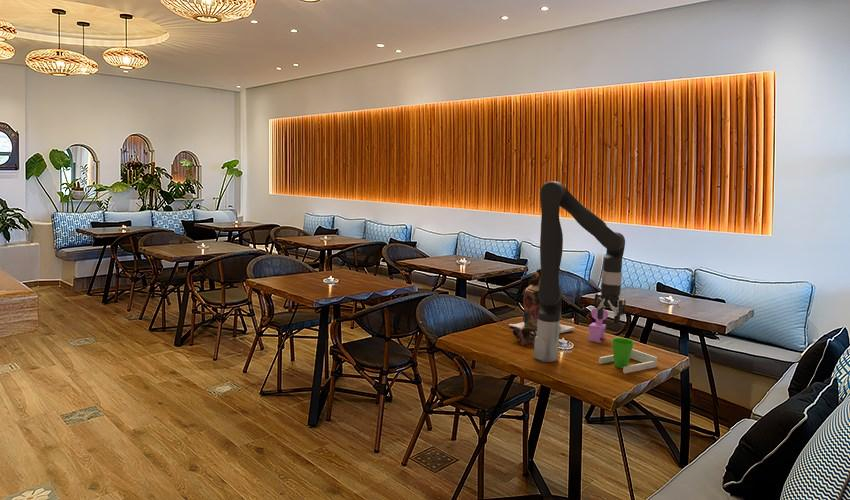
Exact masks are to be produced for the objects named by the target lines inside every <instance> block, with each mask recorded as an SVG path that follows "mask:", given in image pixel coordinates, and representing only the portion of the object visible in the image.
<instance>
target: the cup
mask: <svg viewBox="0 0 850 500" xmlns="http://www.w3.org/2000/svg"><path fill="white" fill-rule="evenodd" d="M611 342H612V351H613V353H612V355H614V361H613V362H614V366H615V368H619V369H623V367H625V366H629V364H630V363H629V362H630V359H631V358H630V355H631V351H632V349H633V347H634V344H635V341H634V340H633V339H630V338H626V337H614V338H612V339H611Z"/></svg>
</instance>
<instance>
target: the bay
mask: <svg viewBox="0 0 850 500" xmlns="http://www.w3.org/2000/svg"><path fill="white" fill-rule="evenodd" d="M630 359H632V360H635V361H638V362H640V363H635V364H630V365H628V366H625V367H623V368H622V369H623V370H622V373H623V374H628V373H635V372H638V371H643V370H648V369H653V368H657V367H658V360H659V359H658V357H657V356H655V355H652V354H649V353H645V352H642V351H640V350H637V349H634V348H632V351H631V355H630ZM612 362H614V354H611V355H610V354H609V355H605V356H599V357H598V364H600V365H601V364H607V363H612Z"/></svg>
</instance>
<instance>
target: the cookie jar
mask: <svg viewBox="0 0 850 500" xmlns="http://www.w3.org/2000/svg"><path fill="white" fill-rule="evenodd" d="M530 278H531V280H532V281H533V283H532V284H530V285H528V287H526V288H525V290H524V295H523V303H522V305H523V311H522V312H523V315H522V322H517V323H509V324H508V326H509V327H513V328H517V329H519V330H521V329H522V328H525V327H529V328H532V329H534V330H535V332H536V336H537V324H538V311H539V305H540V299H539V295H538V293H539V286H540V278H541V268H538V269H537V270H536V271H535V272H532V273H531V275H530ZM561 318H562V314H561V315H560V319H561ZM575 328H576V327H575V326H570V325H565V324H561V323H560V327H559V334H562V333H563V334H564V333H567V332H572V331H573V332H574V329H575ZM530 334H532V335H534V333H533V332H530Z"/></svg>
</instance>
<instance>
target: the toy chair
mask: <svg viewBox="0 0 850 500" xmlns="http://www.w3.org/2000/svg"><path fill="white" fill-rule="evenodd" d="M597 314H598V310H597V308H593V309H592V310H590V315H591V316H592V318H593V319H594V320H595V322H592V323H590V324H589V325H588V331H589V332H588V333H589V337H588V339H587V341H590V342H594V343H595V342H596V343H602V341H601V339H604V340H605V339H606V336H605V330H606V329H607V324H603V321H604V320H606V319H607V318H608V317H609V312H608V311H607V310H605V308H604V309H603V319H601V320H599V319H598V317H597Z"/></svg>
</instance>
